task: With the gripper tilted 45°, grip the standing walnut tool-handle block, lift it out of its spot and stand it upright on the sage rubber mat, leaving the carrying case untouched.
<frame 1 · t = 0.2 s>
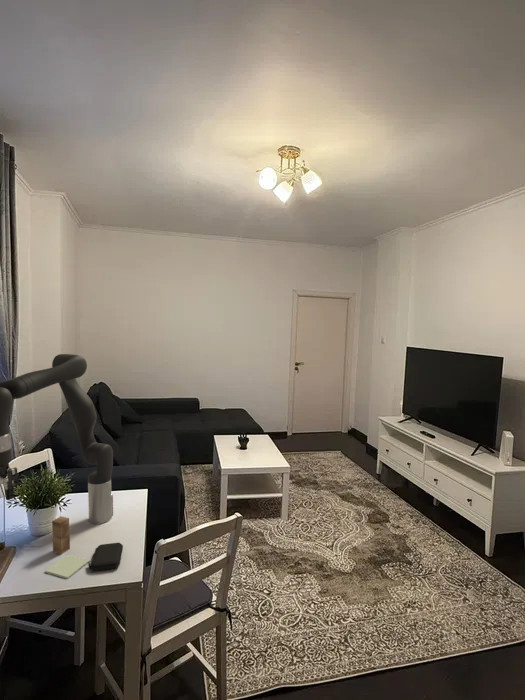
hand: (0, 497, 129), 29 cm above the table, tool pointing down, fingers open, 8 cm apart
sage mat: (67, 566, 140), on the table
carrying case or bag: (105, 561, 144), on the table
walnut handle block: (61, 550, 150), on the table
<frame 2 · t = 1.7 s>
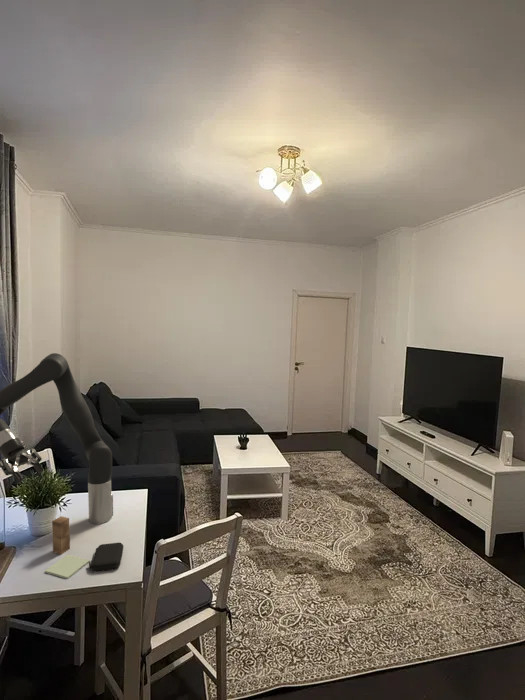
hand: (31, 476, 152), 27 cm above the table, tool tilted 45°, fingers open, 8 cm apart
nothing on the table moved.
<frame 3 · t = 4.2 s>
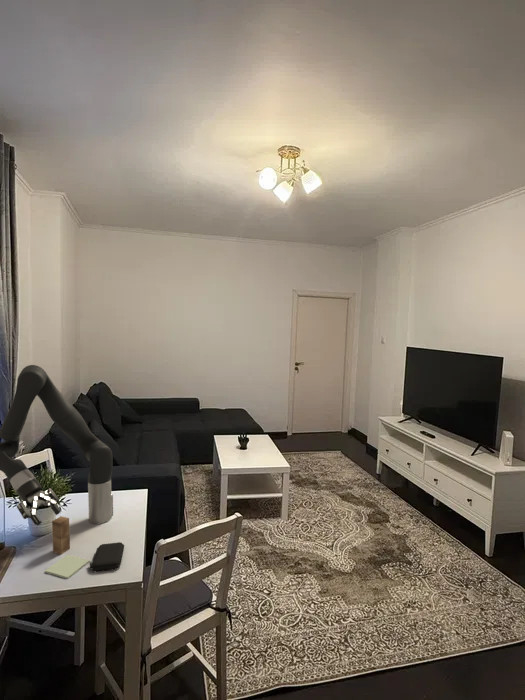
hand: (49, 518, 150), 11 cm above the table, tool tilted 45°, fingers open, 8 cm apart
nothing on the table moved.
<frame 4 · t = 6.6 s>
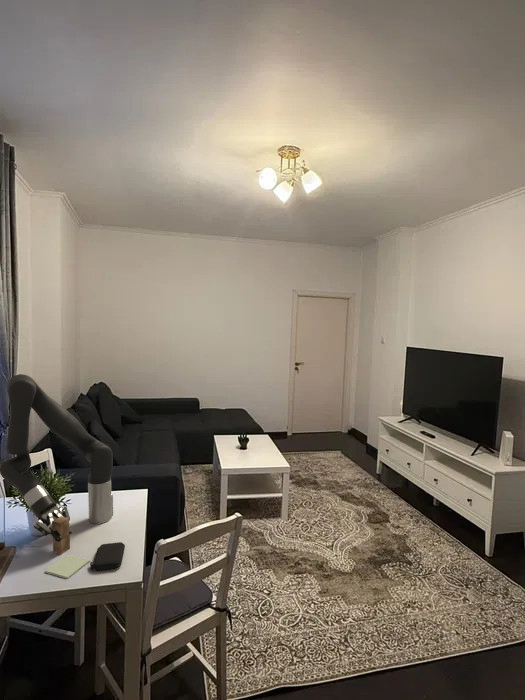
hand: (65, 537, 149), 6 cm above the table, tool tilted 45°, fingers closed on walnut handle block, 4 cm apart
walnut handle block: (61, 550, 150), on the table, touching gripper
everything else where it was.
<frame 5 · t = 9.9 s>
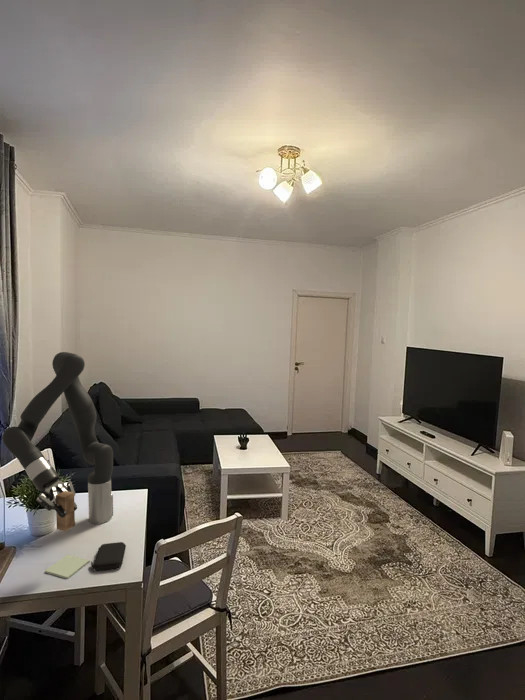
hand: (70, 512, 138), 20 cm above the table, tool tilted 45°, fingers closed on walnut handle block, 4 cm apart
walnut handle block: (65, 527, 139), point 14 cm above the table, touching gripper
everything else where it was.
when the fingers open (7 cm above the table, at t = 13.4 s): walnut handle block stays where it is, resting on sage mat.
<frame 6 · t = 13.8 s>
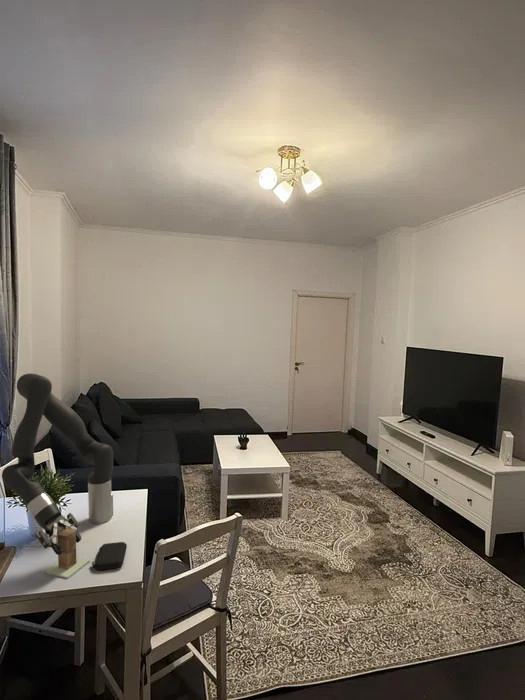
hand: (70, 547, 139), 8 cm above the table, tool tilted 45°, fingers open, 7 cm apart
walnut handle block: (67, 565, 140), point 1 cm above the table, touching sage mat
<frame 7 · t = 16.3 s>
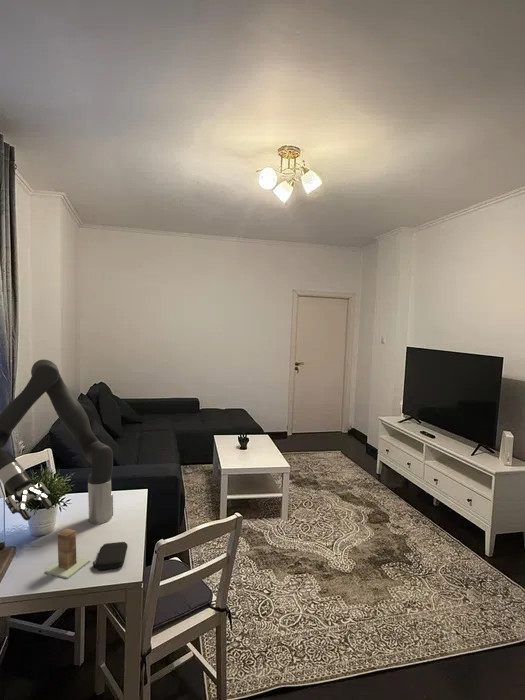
hand: (39, 513, 142), 17 cm above the table, tool tilted 45°, fingers open, 8 cm apart
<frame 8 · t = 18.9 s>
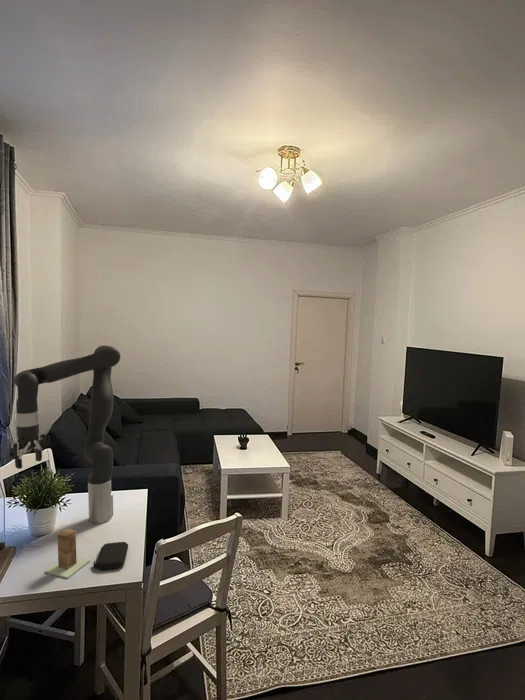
hand: (29, 464, 155), 30 cm above the table, tool pointing down, fingers open, 8 cm apart
at the end: walnut handle block inside the target area (0.1 cm from its centre), point 0.6 cm above the table; walnut handle block tilted 0°; the gripper is holding nothing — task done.
